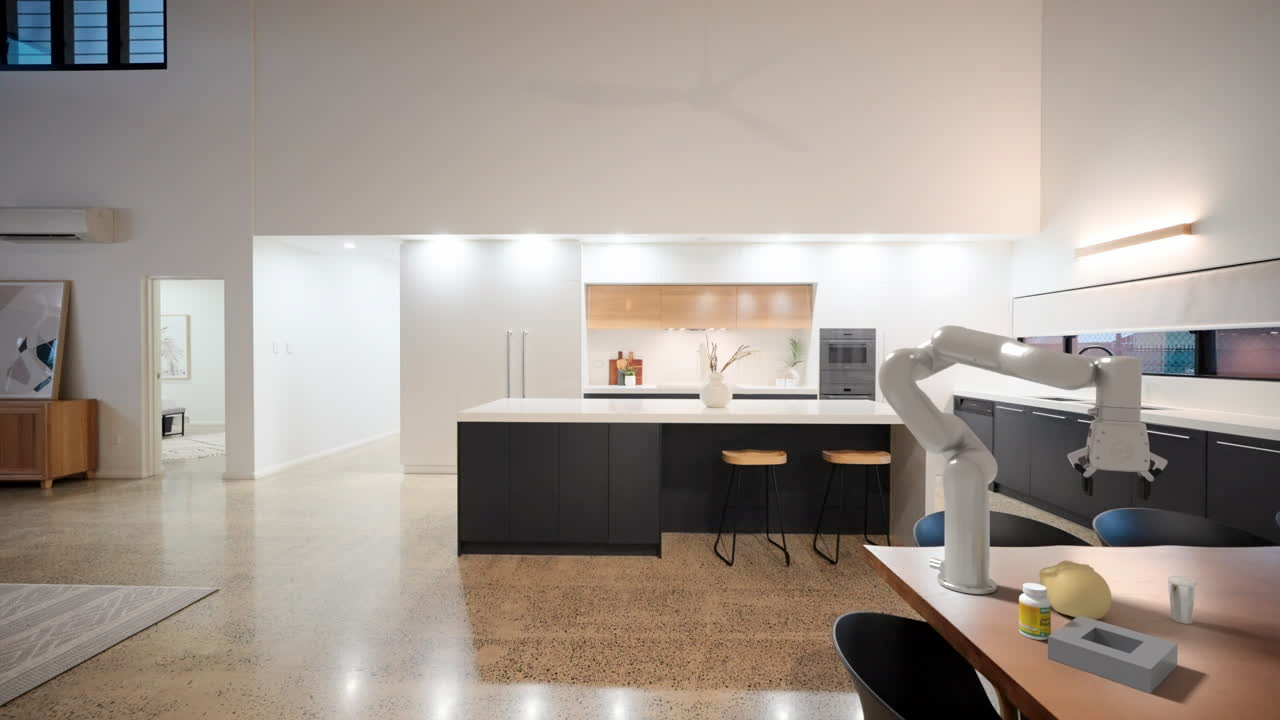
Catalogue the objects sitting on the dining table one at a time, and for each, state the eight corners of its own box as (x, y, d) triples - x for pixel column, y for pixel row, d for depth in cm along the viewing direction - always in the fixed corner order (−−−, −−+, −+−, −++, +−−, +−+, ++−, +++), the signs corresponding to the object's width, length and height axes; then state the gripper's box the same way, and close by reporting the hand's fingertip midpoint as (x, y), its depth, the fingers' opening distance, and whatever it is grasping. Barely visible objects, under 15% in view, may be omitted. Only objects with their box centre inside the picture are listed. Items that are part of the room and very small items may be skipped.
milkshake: (1194, 628, 127) (1195, 579, 127) (1163, 618, 132) (1163, 571, 132) (1205, 624, 130) (1206, 575, 129) (1173, 614, 134) (1174, 567, 134)
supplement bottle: (1027, 626, 129) (1027, 579, 129) (1056, 636, 124) (1056, 587, 124) (1013, 633, 126) (1013, 584, 126) (1042, 643, 121) (1043, 593, 121)
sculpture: (1075, 600, 142) (1075, 552, 142) (1125, 623, 130) (1125, 571, 130) (1030, 604, 140) (1030, 555, 140) (1076, 627, 128) (1076, 574, 128)
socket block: (1047, 658, 116) (1048, 636, 115) (1079, 635, 125) (1079, 615, 124) (1150, 693, 104) (1150, 669, 103) (1177, 666, 113) (1177, 643, 112)
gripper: (1075, 415, 131) (1072, 497, 132) (1176, 419, 126) (1173, 505, 127) (1063, 411, 139) (1061, 489, 139) (1159, 415, 133) (1156, 496, 134)
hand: (1115, 496), depth 133 cm, fingers open, 9 cm apart
